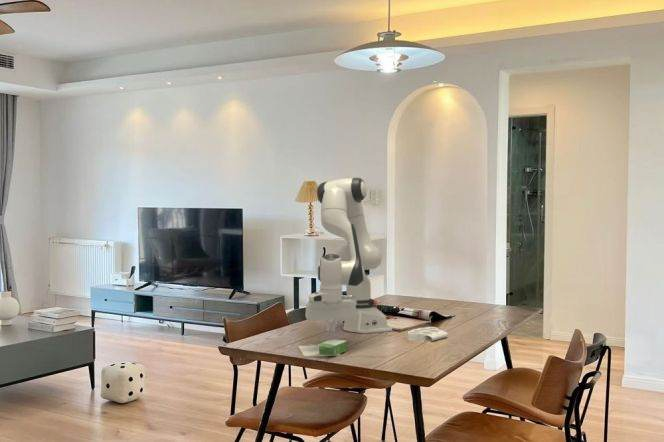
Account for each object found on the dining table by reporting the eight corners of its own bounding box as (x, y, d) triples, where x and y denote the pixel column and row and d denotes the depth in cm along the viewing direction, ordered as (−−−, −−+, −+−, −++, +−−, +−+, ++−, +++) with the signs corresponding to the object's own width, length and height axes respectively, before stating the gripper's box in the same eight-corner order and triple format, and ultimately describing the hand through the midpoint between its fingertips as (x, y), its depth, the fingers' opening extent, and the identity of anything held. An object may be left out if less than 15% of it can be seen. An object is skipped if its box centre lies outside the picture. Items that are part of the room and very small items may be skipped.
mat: (332, 346, 268) (332, 344, 268) (340, 355, 252) (340, 353, 252) (298, 347, 265) (298, 346, 265) (304, 357, 249) (304, 355, 249)
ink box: (332, 348, 261) (313, 355, 249) (332, 338, 261) (313, 345, 249) (347, 350, 257) (329, 358, 246) (347, 340, 257) (329, 347, 246)
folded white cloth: (427, 344, 272) (399, 339, 282) (452, 337, 285) (424, 332, 295) (427, 336, 272) (399, 331, 282) (452, 330, 285) (424, 325, 295)
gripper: (355, 293, 263) (355, 327, 264) (304, 295, 260) (304, 329, 260) (358, 296, 257) (358, 331, 258) (307, 297, 253) (307, 333, 254)
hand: (331, 330), depth 259 cm, fingers closed
